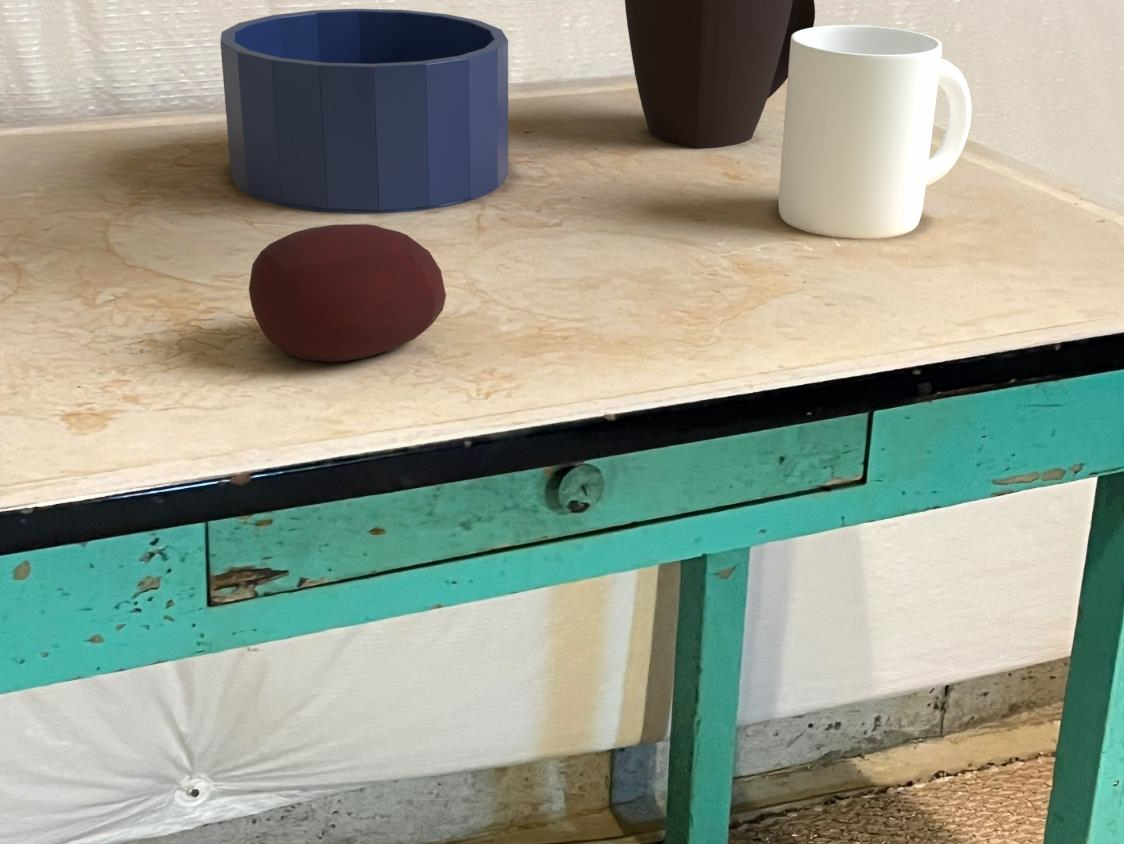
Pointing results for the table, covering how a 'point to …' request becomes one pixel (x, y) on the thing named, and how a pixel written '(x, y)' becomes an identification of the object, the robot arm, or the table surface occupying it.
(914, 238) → the table surface
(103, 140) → the table surface
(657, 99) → the mug
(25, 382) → the table surface
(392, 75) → the pot
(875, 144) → the mug
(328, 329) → the potato
